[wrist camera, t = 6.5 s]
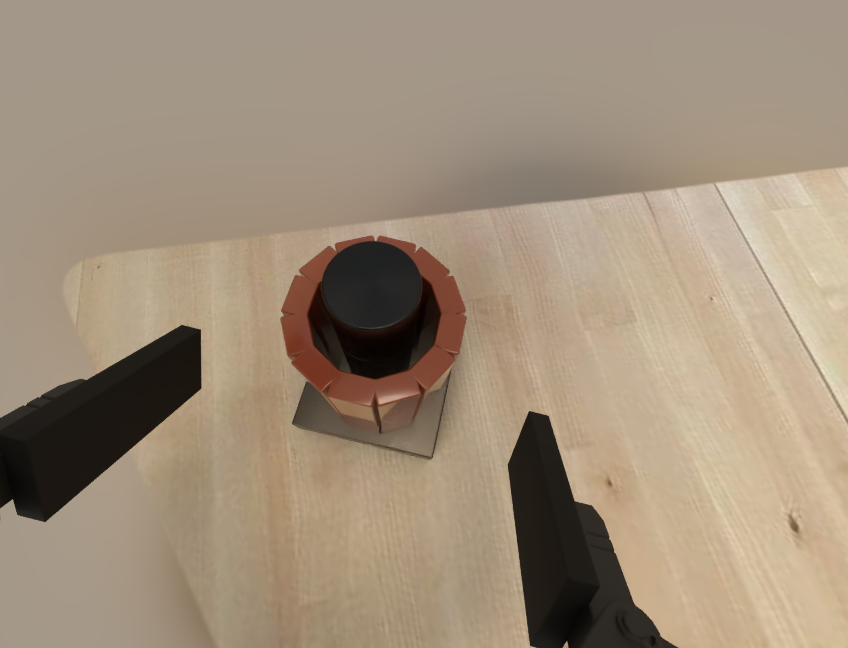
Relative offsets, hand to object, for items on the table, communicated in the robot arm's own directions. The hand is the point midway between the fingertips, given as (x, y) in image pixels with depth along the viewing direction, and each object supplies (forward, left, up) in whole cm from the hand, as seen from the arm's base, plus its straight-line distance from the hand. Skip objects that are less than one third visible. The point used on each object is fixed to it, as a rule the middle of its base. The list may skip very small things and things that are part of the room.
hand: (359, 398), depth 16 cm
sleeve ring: (0, +3, -7) cm, 8 cm away
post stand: (0, +3, -9) cm, 9 cm away
